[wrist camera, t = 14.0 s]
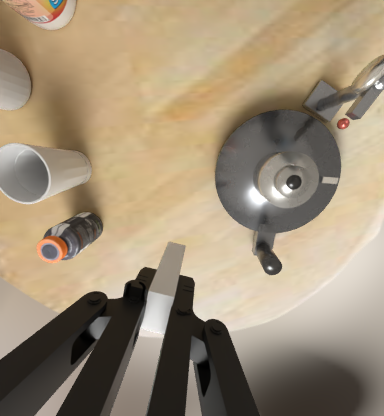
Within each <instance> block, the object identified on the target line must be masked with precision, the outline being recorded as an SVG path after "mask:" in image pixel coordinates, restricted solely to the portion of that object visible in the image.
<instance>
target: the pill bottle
mask: <svg viewBox="0 0 384 416" xmlns="http://www.w3.org/2000/svg"><path fill="white" fill-rule="evenodd" d="M102 230H103V226H102V222H101V220H100V219H99V218H98V217H97V216H96V215H95V214H93V213H90V212H83V213H80V214H78V215H76V216H74V217H72V218H70V219H68V220H66V221H64V222H62V223H60V224H58V225H56V226H54V227H52V228H50V229H49V230H48V231H47V232H46V233H45V235H44V239H42V240H41V241H40V242H39V243H38V245H37V253H38V255H39V256H40V258H41V259H43V260H44V261H46V262H49V263H55V262H58V261H60V260H68V259H71V258H73V257H75V256H76V255H77V254H79V253H80V252H81V251H82V250H84V249H85V248H86V247H87V246H89V245H90V244H91V243H92V242H93V241H95V240H96V239H97V238H98V237H99V236H100V235H101V233H102Z"/></svg>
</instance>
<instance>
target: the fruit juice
mask: <svg viewBox="0 0 384 416" xmlns="http://www.w3.org/2000/svg"><path fill="white" fill-rule="evenodd" d="M2 1H3V2H4V3H6V4H7V5H8V6H10V7H11V8H12V9H14V10H15V11H16V12H18V13H19V14H20V15H22V16H23V17H24V18H26V19H27V20H28V21H30V22H31V23H33V24H34V25H36V26H38V27H40V28H43V29H46V30H57V29H60V28H62V27H64V26H65V25H67V24H68V23H69V21H70V20H71V19H72V17H73V15H74V12H75V8H76V0H2Z"/></svg>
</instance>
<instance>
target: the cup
mask: <svg viewBox="0 0 384 416" xmlns="http://www.w3.org/2000/svg"><path fill="white" fill-rule="evenodd" d="M91 173H92V168H91V164H90V161H89V160H88V158H87V157H86V156H85V155H84V154H82V153H81V152H79V151H74V150H63V149H56V148H48V147H41V146H34V145H28V144H21V143H10V144H6V145H4V146H2V147H1V148H0V190H1V191H2V192H3V193H4V194H5V195H6V196H7V197H9V198H10V199H12V200H14V201H16V202H18V203H22V204H33V203H37V202H39V201H41V200H44V199H46V198H48V197H51V196H53V195H55V194H58V193H60V192H63V191H65V190H68V189H70V188H73V187H75V186H78V185H81V184H84V183H86V182H87V181H88V180H89V178H90V176H91Z"/></svg>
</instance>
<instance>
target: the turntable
mask: <svg viewBox="0 0 384 416" xmlns="http://www.w3.org/2000/svg"><path fill="white" fill-rule="evenodd" d="M274 152H300V153H303V154H305V155H307V156H309V157H310V158H311V159H312V160H313V161H314V162H315V164H316V166H317V168H318V172H319V182H318V186H317V188H316V191H315V192H314V194H313V195H312V196H311V198H310V199H309V200H307V201H306V202H305V203H303V204H302V205H299V206H297V207H293V208H280V207H277V206H275V205H273V204H271V203H270V202H268V201H267V200H266V199H265V198H263V197H262V196H261V195H260V194H259V193H258V192H257V191H256V189H255V187H254V184H253V173H254V170H255V167H256V166H257V164H258V163H259V161H260V160H261V159H262V158H264V157H265V156H267V155H268V154H271V153H274ZM340 173H341V159H340V153H339V149H338V146H337V144H336V141H335V139H334V137H333V136H332V134H331V133H330V131H329V130H328V129H327V128H326V127H325V126H324V125H323V124H322V123H321V122H320V121H318V120H317V119H315V118H314V117H312V116H310V115H308V114H305V113H302V112H299V111H293V110H275V111H269V112H266V113H262V114H260V115H257V116H255V117H253V118H251V119H250V120H248V121H246V122H245V123H243V124H242V125H241V126H240V127H238V128H237V129H236V130H235V131H234V132H233V133H232V134H231V135H230V136H229V138H228V139H227V140H226V142H225V143H224V145H223V147H222V149H221V151H220V153H219V156H218V159H217V162H216V168H215V184H216V189H217V193H218V196H219V199H220V201H221V203H222V205H223V207H224V208H225V210H226V211H227V212H228V214H229V215H230V216H231V217H232V218H233V219H234V220H236V221H237V222H238V223H240V224H241V225H243V226H245V227H247V228H249V229H251V230H255V236H254V242H253V248H252V252H253V254H254V255H256V256H257V257H258V259H259V261H260V263H261V265H262V267H263V269H264V271H265V272H266V273H267V274H269V275H275V274H278V273H279V272H280V271H281V269H282V264H281V262H280V261H279V259H278V258H277V256H276V255H275V253H274V252H273V250H272V248H273V243H274V237H275V233H282V232H286V231H291V230H294V229H297V228H299V227H301V226H303V225H305V224H307V223H308V222H310V221H311V220H313V219H314V218H315V217H317V216H318V215H319V214H320V213H321V212H322V211H323V210H324V209H325V207H326V206H327V205H328V204H329V202H330V200H331V199H332V197H333V195H334V193H335V191H336V189H337V186H338V183H339V179H340Z"/></svg>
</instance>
